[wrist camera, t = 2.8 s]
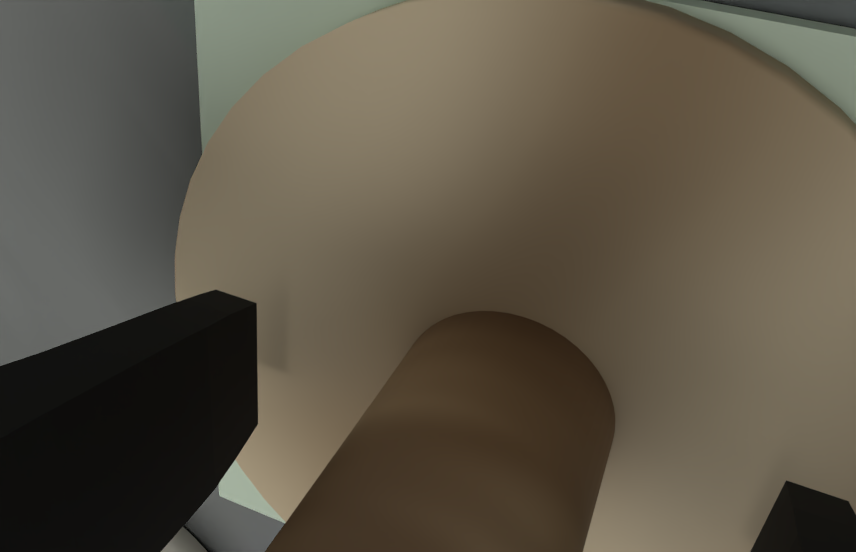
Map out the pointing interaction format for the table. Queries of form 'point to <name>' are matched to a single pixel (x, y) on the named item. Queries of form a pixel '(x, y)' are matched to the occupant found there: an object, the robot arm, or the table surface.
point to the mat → (341, 3)
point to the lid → (535, 280)
